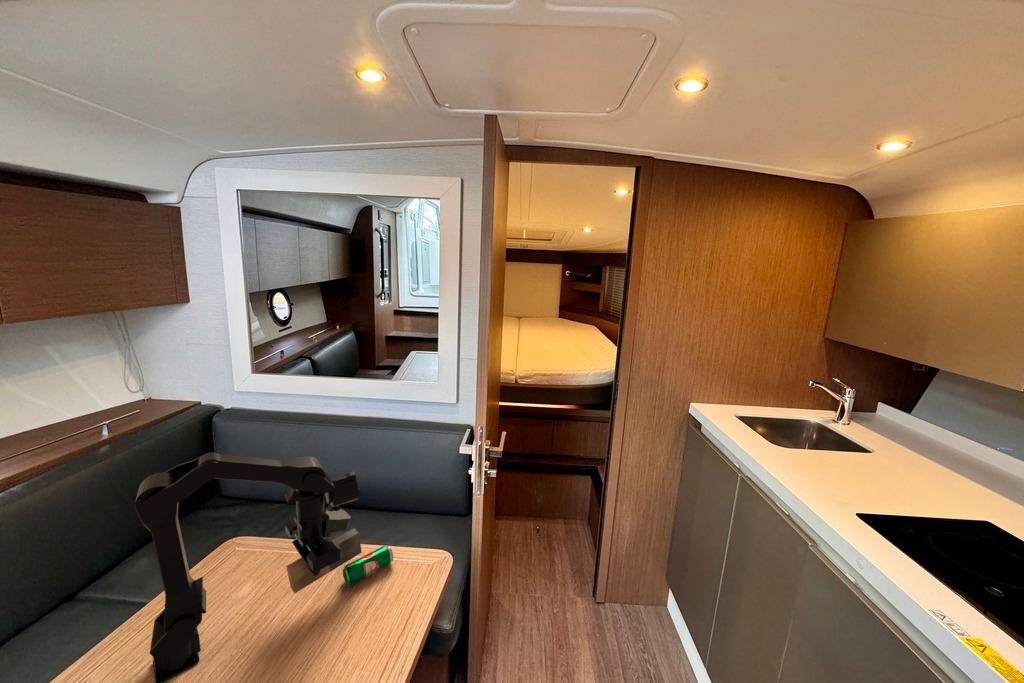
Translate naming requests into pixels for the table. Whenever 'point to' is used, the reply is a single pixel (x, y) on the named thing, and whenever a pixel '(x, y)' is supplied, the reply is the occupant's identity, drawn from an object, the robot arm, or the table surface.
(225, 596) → the table surface
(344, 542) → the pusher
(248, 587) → the table surface
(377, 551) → the soda can
